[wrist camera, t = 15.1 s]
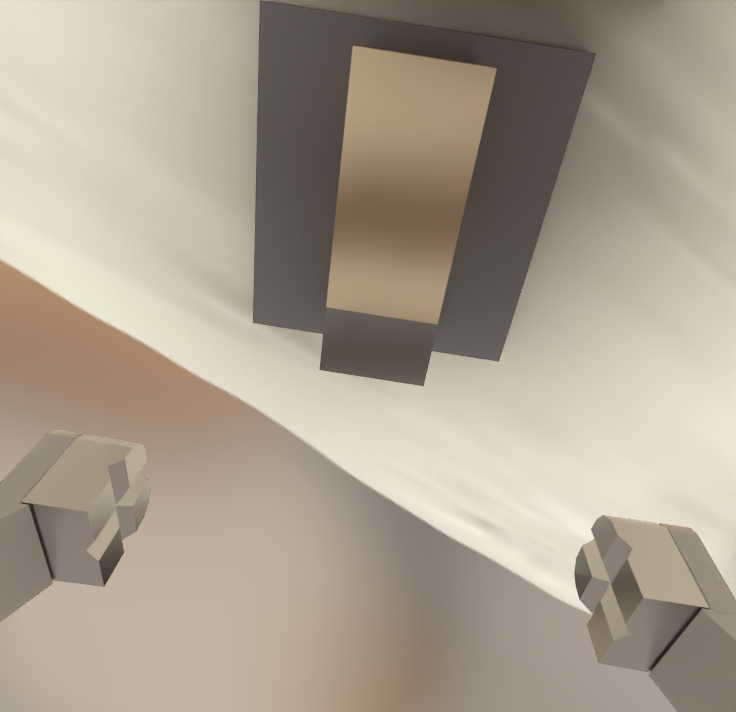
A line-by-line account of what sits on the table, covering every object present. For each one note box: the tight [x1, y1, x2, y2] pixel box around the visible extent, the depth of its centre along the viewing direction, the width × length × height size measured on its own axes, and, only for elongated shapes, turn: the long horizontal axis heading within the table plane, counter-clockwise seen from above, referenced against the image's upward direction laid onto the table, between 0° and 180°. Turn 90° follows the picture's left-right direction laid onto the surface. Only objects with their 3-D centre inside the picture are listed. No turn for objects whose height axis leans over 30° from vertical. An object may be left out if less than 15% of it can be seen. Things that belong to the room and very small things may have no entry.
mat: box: [253, 0, 596, 361], centre depth 24 cm, size 14×13×1 cm
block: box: [320, 46, 497, 386], centre depth 21 cm, size 12×4×5 cm, turn 172°
